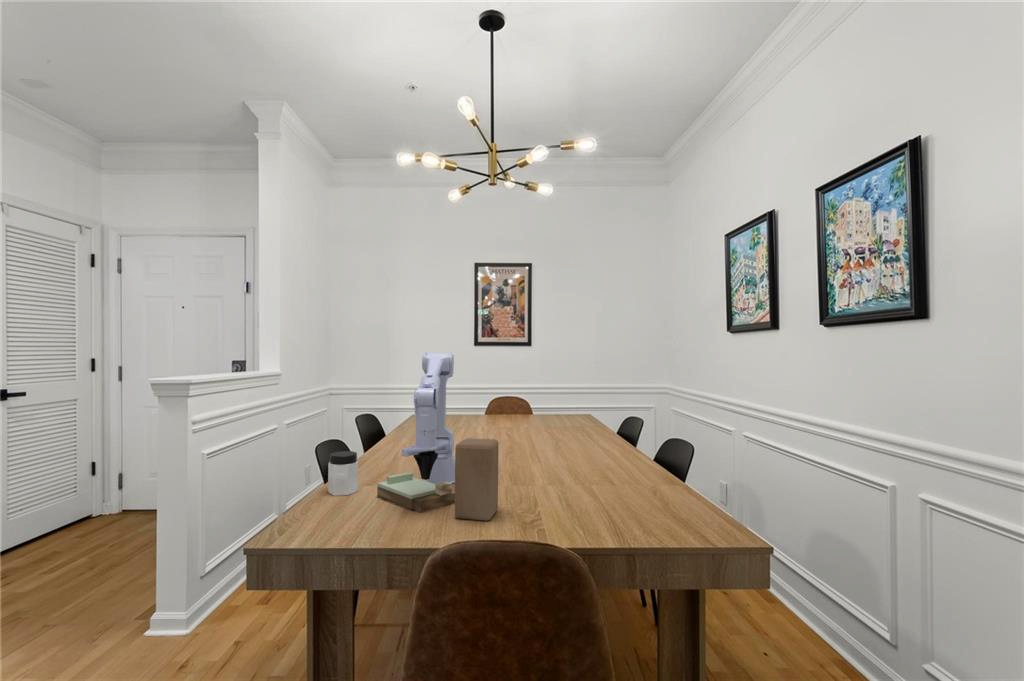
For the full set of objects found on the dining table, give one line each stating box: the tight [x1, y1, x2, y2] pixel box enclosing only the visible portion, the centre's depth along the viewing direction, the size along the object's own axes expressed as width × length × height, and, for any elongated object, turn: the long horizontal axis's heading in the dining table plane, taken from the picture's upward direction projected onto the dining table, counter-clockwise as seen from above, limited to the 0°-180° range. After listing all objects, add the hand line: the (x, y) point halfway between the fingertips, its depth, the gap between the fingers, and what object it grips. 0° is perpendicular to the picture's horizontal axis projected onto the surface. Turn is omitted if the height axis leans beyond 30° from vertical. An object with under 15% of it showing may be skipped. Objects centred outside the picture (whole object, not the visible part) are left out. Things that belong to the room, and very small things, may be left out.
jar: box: [327, 450, 359, 497], centre depth 160 cm, size 9×8×12 cm
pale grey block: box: [435, 482, 453, 496], centre depth 148 cm, size 4×3×3 cm, turn 135°
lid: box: [377, 471, 435, 499], centre depth 153 cm, size 12×18×3 cm, turn 45°
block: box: [454, 437, 499, 522], centre depth 139 cm, size 10×10×20 cm
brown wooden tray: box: [376, 486, 455, 513], centre depth 154 cm, size 18×21×3 cm
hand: (425, 478), depth 143 cm, fingers closed
